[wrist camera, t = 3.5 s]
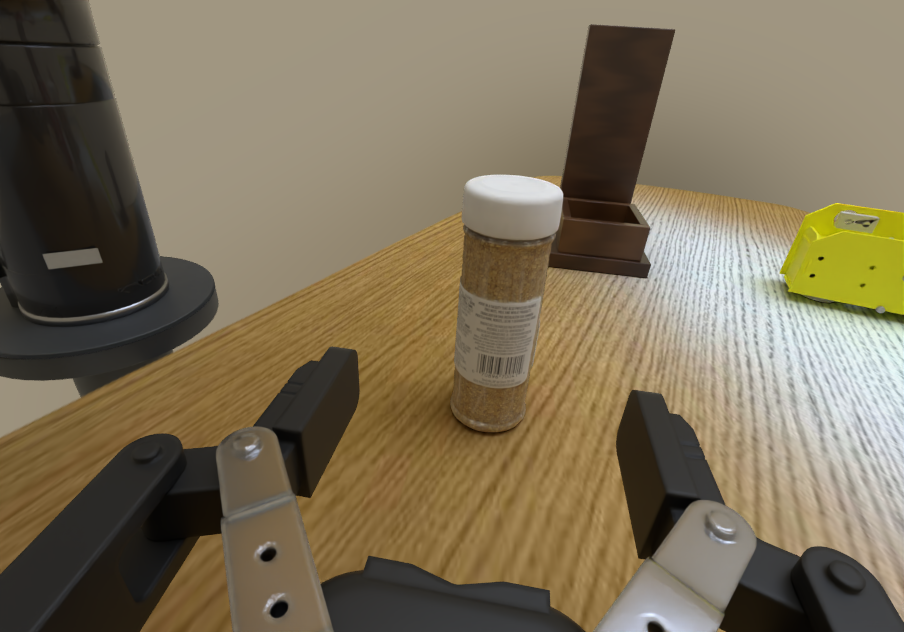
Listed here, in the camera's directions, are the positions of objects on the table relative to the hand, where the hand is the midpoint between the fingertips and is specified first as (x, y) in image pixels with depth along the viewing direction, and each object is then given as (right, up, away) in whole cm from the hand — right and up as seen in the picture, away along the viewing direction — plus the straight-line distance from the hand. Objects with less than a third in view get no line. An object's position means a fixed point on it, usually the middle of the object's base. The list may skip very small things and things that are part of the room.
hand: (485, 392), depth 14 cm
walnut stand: (+14, +10, +38) cm, 42 cm away
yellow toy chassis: (+39, +3, +29) cm, 49 cm away
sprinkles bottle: (+1, -4, +14) cm, 15 cm away
